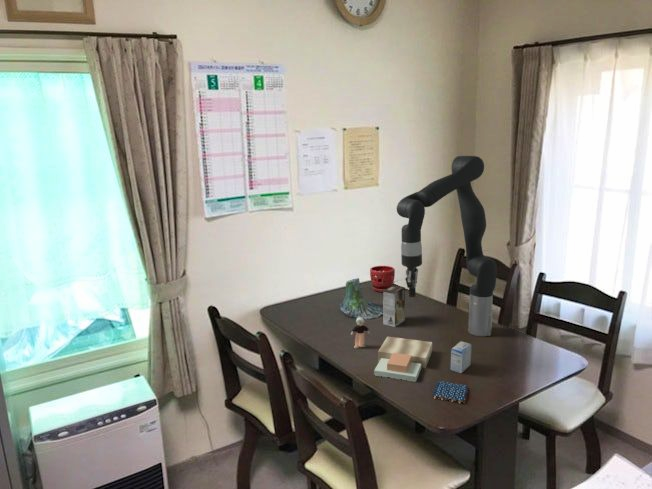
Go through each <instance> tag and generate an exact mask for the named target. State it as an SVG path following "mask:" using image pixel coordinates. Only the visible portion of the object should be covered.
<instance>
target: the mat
mask: <svg viewBox="0 0 652 489" xmlns="http://www.w3.org/2000/svg"><path fill="white" fill-rule="evenodd" d="M388 361H389V359H385V358H381V359H380V361H378V363H377V365H376V366H375V368H374V370H373V375H375V377H376V376H377V377H381V376H382V377H383V378H387V377H390V378H389V379H394V378H395V379H394V380H400V379H402V381H406V380H407V381H408V382H412V383H413V382H414V383H416V382H417V380H418V378H419V375H420V373H421V370H422V367H421V364H420V363H413V362H411V364H410V366H409V368H408V371H407V373H404V372H397V371H390V370H387V363H388Z"/></svg>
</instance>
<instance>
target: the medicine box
mask: <svg viewBox="0 0 652 489" xmlns="http://www.w3.org/2000/svg"><path fill="white" fill-rule="evenodd" d="M471 361H472V344H471V343H469V342H466V341H465V342H464V341H459V342H458V343H456V344H455V346H453V347H452V348H451V350H450V370H451V371H453V372H456V373H457V374H458V373H459V374H462V373H463V372H465V371H466V369H468V368H469V367H470V366H471V364H472V363H471Z"/></svg>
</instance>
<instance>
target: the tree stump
mask: <svg viewBox="0 0 652 489" xmlns="http://www.w3.org/2000/svg"><path fill="white" fill-rule="evenodd" d="M361 286H362V283H361V282H360V278H358V277H357V278H353V279H350V280H347V281H346V283H345V296H344V299H343V301H342V302H341V303H340V305H339V308H340V310H341V312H343V313H344V314H345V315H346V316H347V317H349V318H350V319H353V320H357V318H359V317H361V318H363V319H364V321H366V320H368V321H370V320H372V319H373V320H374V319H379V318H380V317H382V316H383V306H382V307H381V306H379V305H378V304H377V303H375V302H371V301H370V302H369V301H367V300H366V298H365V297H364V296H363V292H362V289H363V288H362V287H361Z"/></svg>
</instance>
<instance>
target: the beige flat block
mask: <svg viewBox="0 0 652 489" xmlns="http://www.w3.org/2000/svg"><path fill="white" fill-rule="evenodd" d="M432 352H433V342H432V341H426V340H425V341H424V340H419V339H410V338H401V337H396V336H386V338H385V340H384V341H383V343H382V344H381V346H380V348H379V349H378V351H377V354H378V355H377V362H379V361H380V359H381V358H385V359H390V357H391V356H392V354H393V353H399V354H406V355H412V362H413V363H420V364H421V369H422V368H424V369H426V368H427V365H428V363H429V360H430V358H431V356H432Z"/></svg>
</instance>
